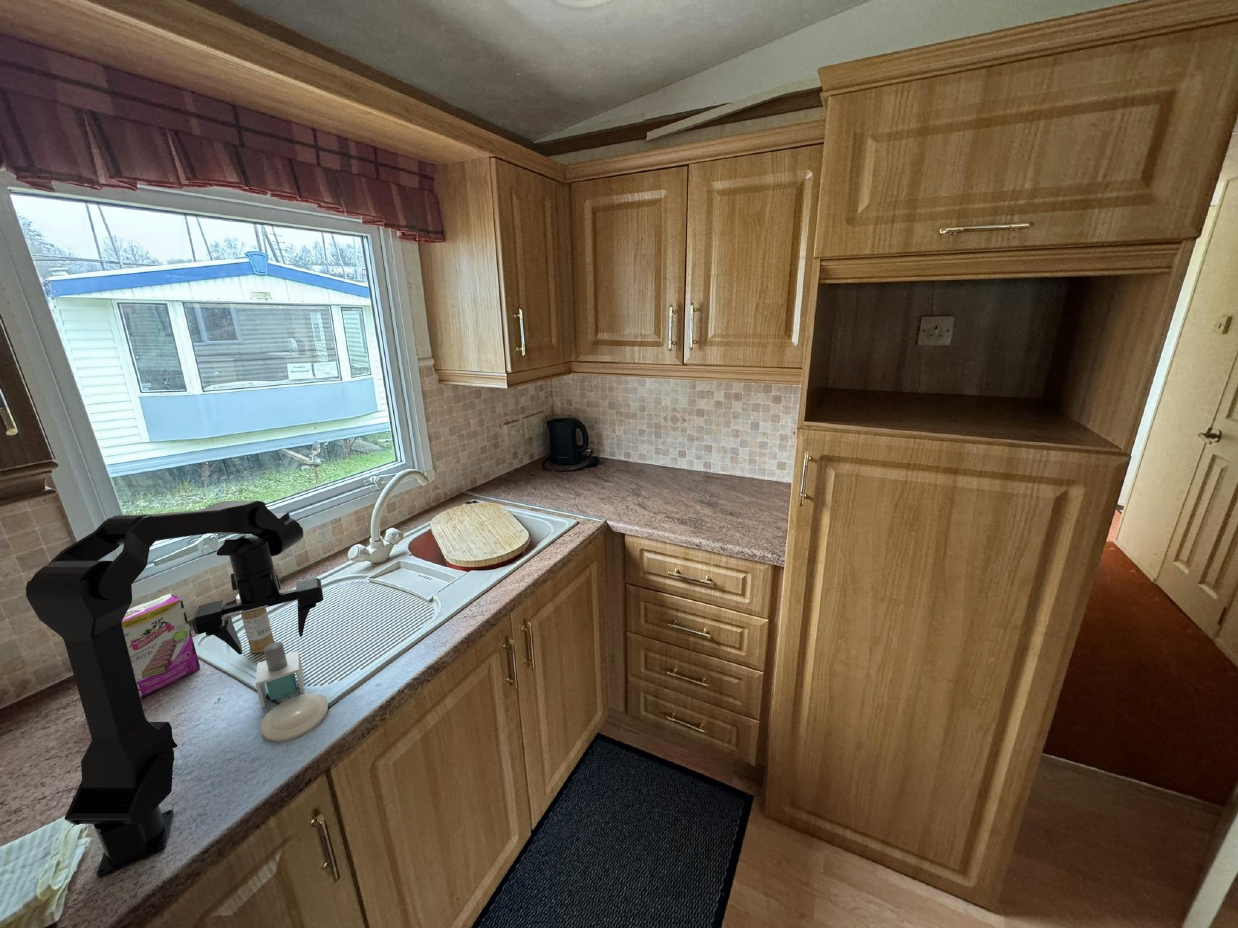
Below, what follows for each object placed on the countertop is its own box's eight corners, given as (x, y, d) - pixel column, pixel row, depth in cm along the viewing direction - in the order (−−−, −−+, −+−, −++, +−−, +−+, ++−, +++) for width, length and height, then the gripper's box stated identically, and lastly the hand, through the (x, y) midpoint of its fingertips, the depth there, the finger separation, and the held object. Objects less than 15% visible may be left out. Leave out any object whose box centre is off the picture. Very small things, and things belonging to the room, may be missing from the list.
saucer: (330, 724, 84) (329, 718, 84) (260, 751, 79) (258, 745, 79) (327, 690, 92) (325, 685, 92) (263, 712, 87) (261, 707, 87)
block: (296, 691, 92) (291, 674, 91) (270, 700, 90) (266, 682, 89) (295, 679, 96) (291, 662, 94) (271, 687, 93) (267, 670, 92)
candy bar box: (131, 705, 89) (105, 628, 85) (119, 696, 92) (92, 621, 87) (203, 668, 99) (182, 597, 95) (190, 661, 101) (169, 591, 97)
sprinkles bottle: (272, 638, 108) (259, 584, 105) (277, 647, 105) (264, 592, 102) (247, 648, 105) (233, 593, 102) (252, 657, 102) (237, 601, 99)
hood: (304, 692, 92) (294, 649, 89) (261, 707, 88) (250, 663, 86) (303, 673, 97) (294, 632, 95) (263, 686, 94) (252, 644, 91)
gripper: (313, 540, 97) (327, 608, 101) (193, 564, 87) (213, 639, 92) (315, 560, 88) (330, 635, 92) (181, 591, 78) (205, 672, 83)
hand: (271, 644), depth 90 cm, fingers open, 9 cm apart
